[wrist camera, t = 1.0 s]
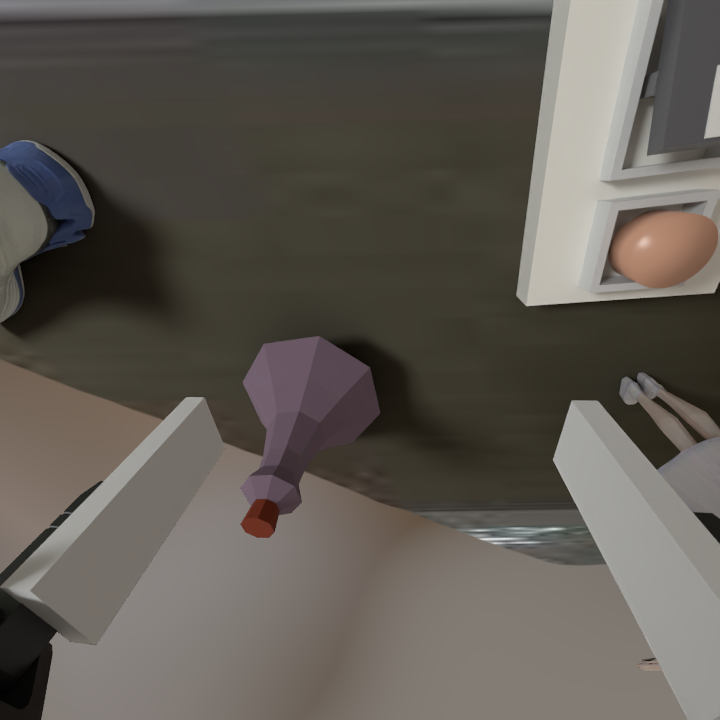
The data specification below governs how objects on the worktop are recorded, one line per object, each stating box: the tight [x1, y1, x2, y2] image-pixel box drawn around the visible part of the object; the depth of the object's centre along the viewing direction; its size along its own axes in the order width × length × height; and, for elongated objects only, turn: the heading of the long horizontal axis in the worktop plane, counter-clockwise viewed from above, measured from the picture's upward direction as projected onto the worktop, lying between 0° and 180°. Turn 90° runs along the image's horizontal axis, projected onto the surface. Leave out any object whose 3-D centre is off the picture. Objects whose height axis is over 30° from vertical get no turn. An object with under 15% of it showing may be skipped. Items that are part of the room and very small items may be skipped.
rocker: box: [647, 0, 720, 156], centre depth 18 cm, size 8×5×2 cm, turn 7°
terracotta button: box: [608, 209, 718, 288], centre depth 23 cm, size 5×5×3 cm
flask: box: [241, 336, 380, 538], centre depth 32 cm, size 16×16×20 cm
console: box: [516, 0, 720, 306], centre depth 21 cm, size 30×15×5 cm, turn 7°
